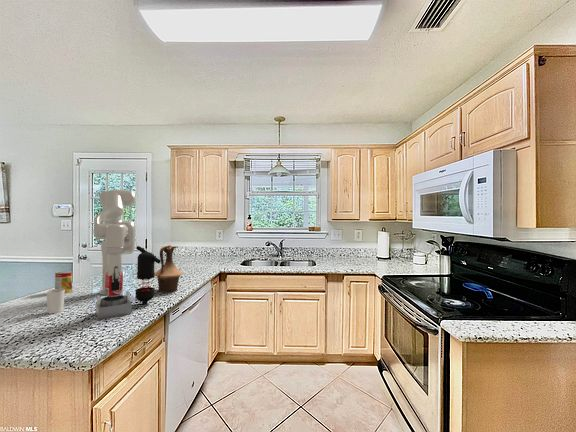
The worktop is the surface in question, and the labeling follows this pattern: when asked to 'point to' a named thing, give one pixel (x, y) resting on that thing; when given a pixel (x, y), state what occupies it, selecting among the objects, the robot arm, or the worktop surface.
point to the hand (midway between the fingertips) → (113, 288)
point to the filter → (145, 274)
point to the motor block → (113, 306)
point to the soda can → (108, 286)
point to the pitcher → (168, 271)
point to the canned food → (63, 281)
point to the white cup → (55, 300)
